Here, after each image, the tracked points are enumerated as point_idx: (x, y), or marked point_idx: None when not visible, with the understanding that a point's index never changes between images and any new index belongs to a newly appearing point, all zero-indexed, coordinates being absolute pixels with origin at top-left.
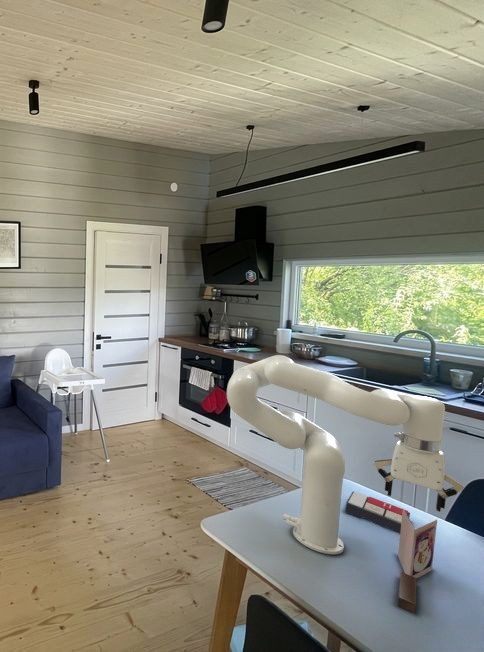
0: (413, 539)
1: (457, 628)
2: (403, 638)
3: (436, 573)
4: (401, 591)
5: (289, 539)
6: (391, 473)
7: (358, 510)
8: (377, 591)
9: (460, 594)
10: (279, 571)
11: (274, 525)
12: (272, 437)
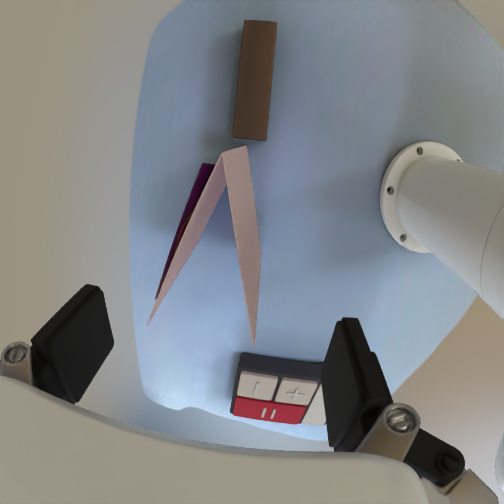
0: (230, 150)
1: (175, 43)
2: None
3: None
4: (270, 47)
5: (472, 162)
6: (423, 488)
7: None
8: (314, 55)
9: (154, 179)
10: (469, 34)
11: None
12: None
